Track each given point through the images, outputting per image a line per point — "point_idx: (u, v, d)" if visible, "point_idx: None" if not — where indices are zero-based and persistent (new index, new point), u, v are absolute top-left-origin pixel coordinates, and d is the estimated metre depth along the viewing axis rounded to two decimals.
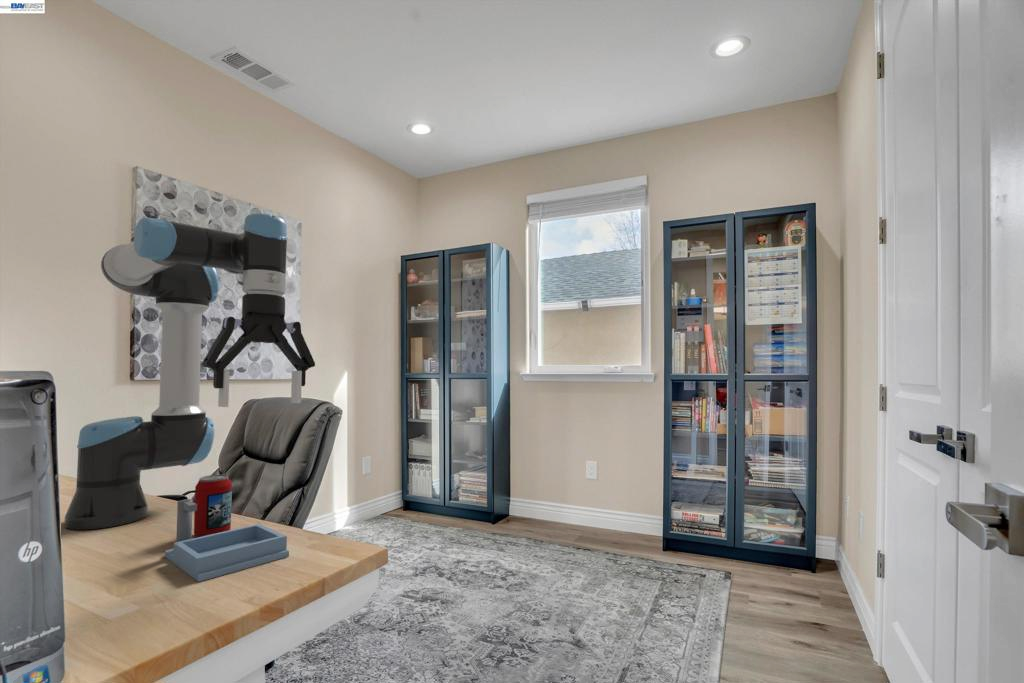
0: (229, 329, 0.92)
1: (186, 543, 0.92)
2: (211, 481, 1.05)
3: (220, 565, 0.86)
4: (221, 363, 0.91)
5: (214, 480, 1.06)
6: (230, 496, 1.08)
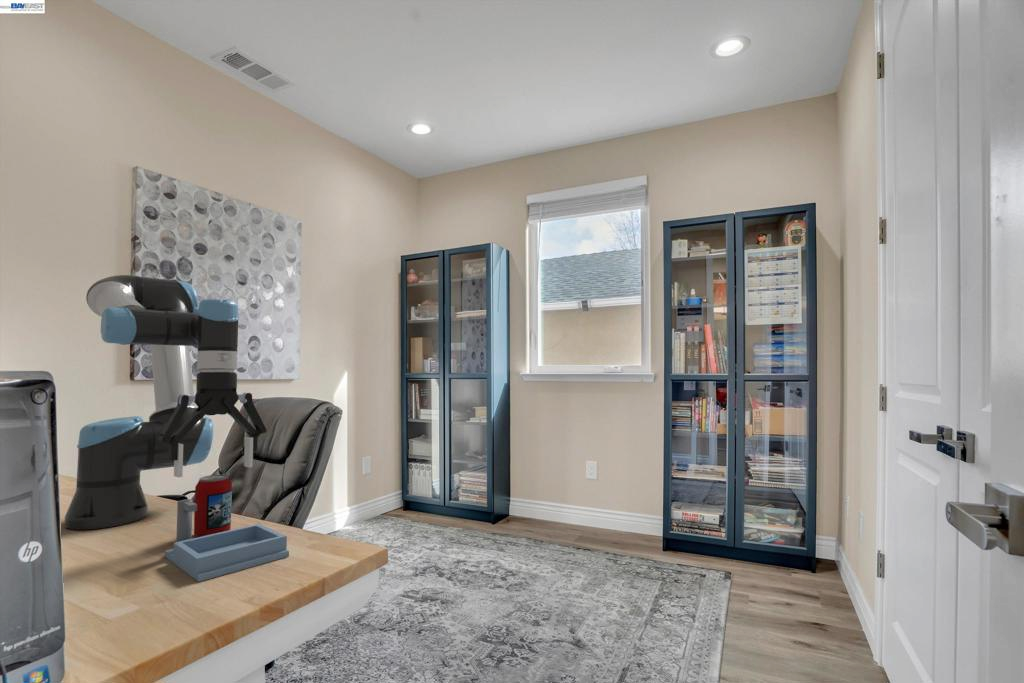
0: (183, 406, 1.03)
1: (186, 543, 0.92)
2: (211, 481, 1.05)
3: (220, 565, 0.86)
4: (175, 438, 1.02)
5: (214, 480, 1.06)
6: (230, 496, 1.08)
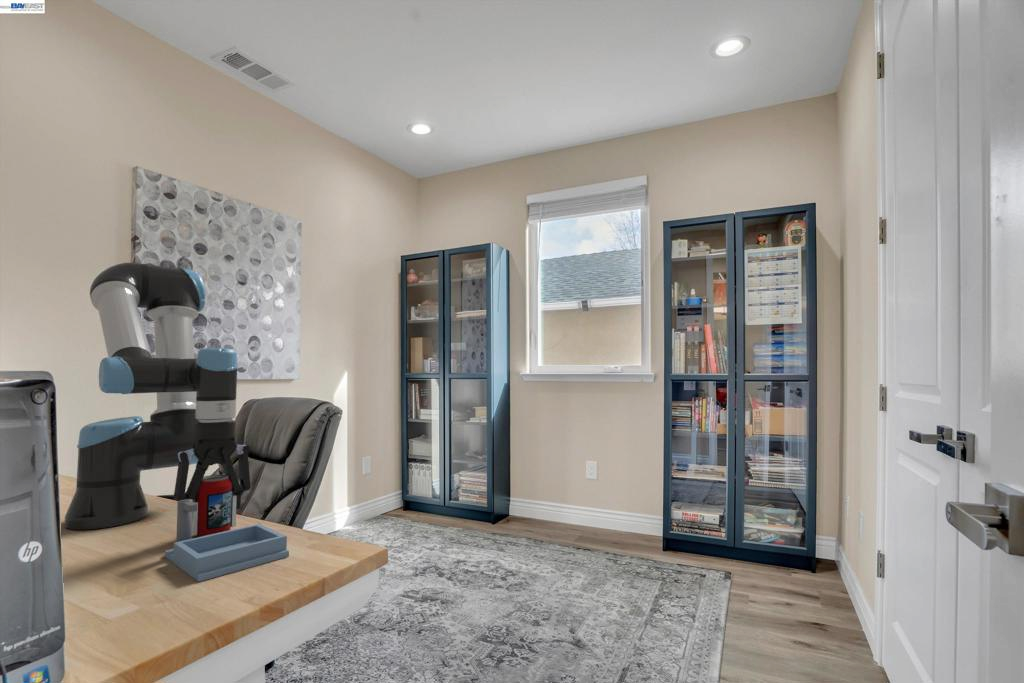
0: (185, 464, 1.03)
1: (186, 543, 0.92)
2: (211, 481, 1.05)
3: (220, 565, 0.86)
4: (189, 497, 1.03)
5: (214, 480, 1.06)
6: (230, 496, 1.08)
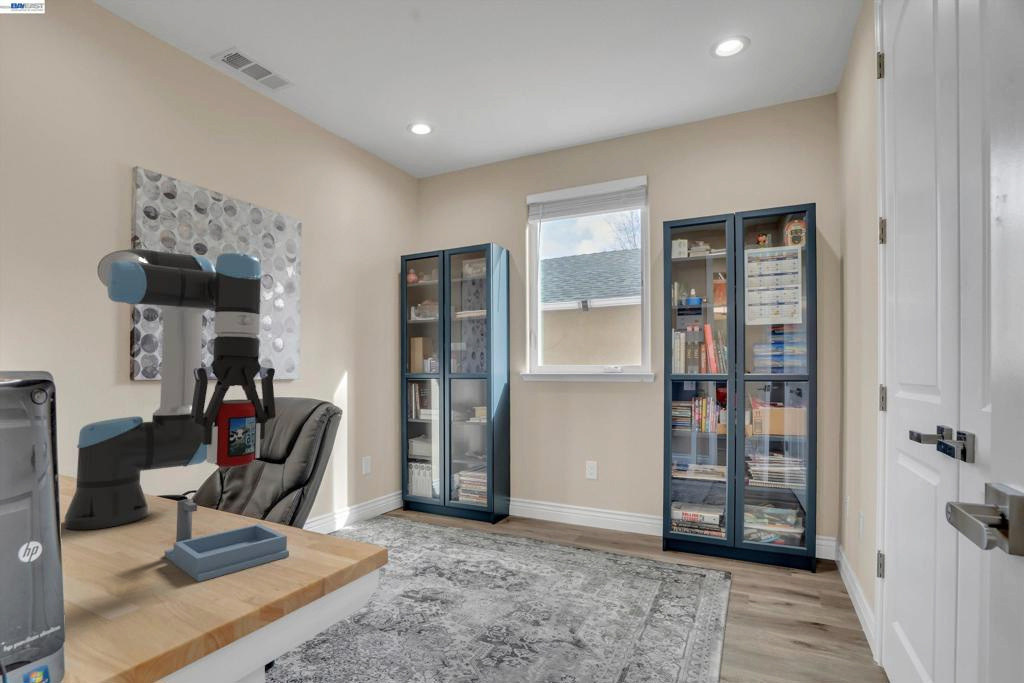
0: (203, 381, 0.90)
1: (186, 543, 0.92)
2: (233, 403, 0.92)
3: (220, 565, 0.86)
4: (208, 419, 0.90)
5: (236, 402, 0.93)
6: (254, 422, 0.95)
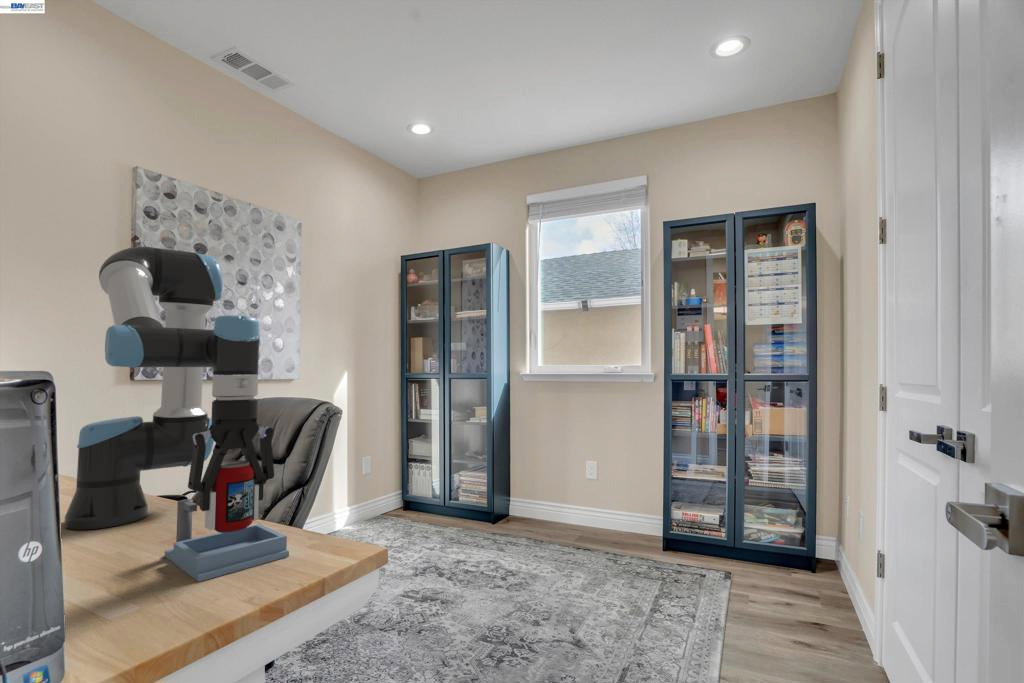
0: (201, 447, 0.89)
1: (186, 543, 0.92)
2: (231, 467, 0.92)
3: (220, 565, 0.86)
4: (206, 486, 0.90)
5: (234, 466, 0.92)
6: (252, 485, 0.95)
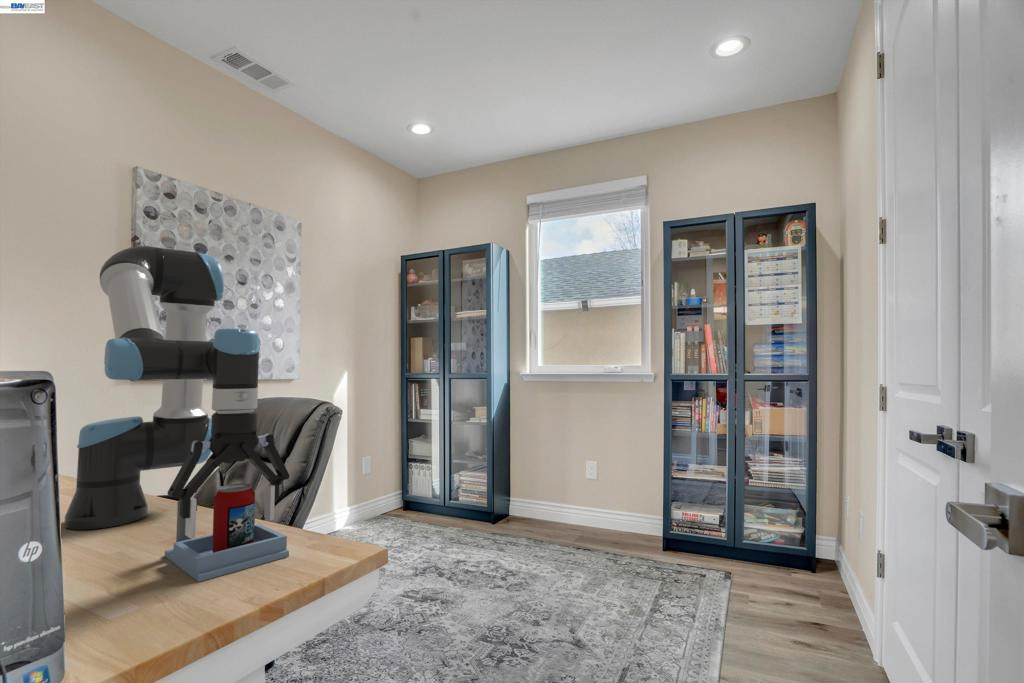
0: (196, 455, 0.89)
1: (186, 543, 0.92)
2: (232, 492, 0.92)
3: (220, 565, 0.86)
4: (187, 492, 0.87)
5: (235, 490, 0.92)
6: (253, 508, 0.95)
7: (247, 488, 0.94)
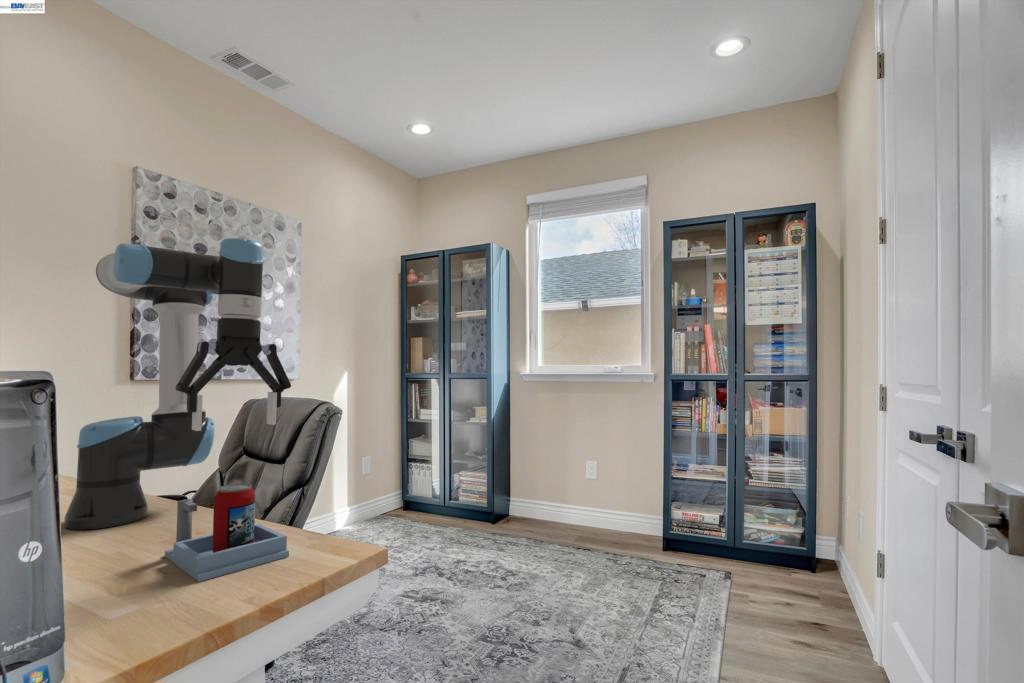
0: (203, 354, 0.94)
1: (186, 543, 0.92)
2: (232, 491, 0.92)
3: (220, 565, 0.86)
4: (194, 387, 0.93)
5: (236, 490, 0.92)
6: (253, 508, 0.95)
7: (247, 488, 0.94)
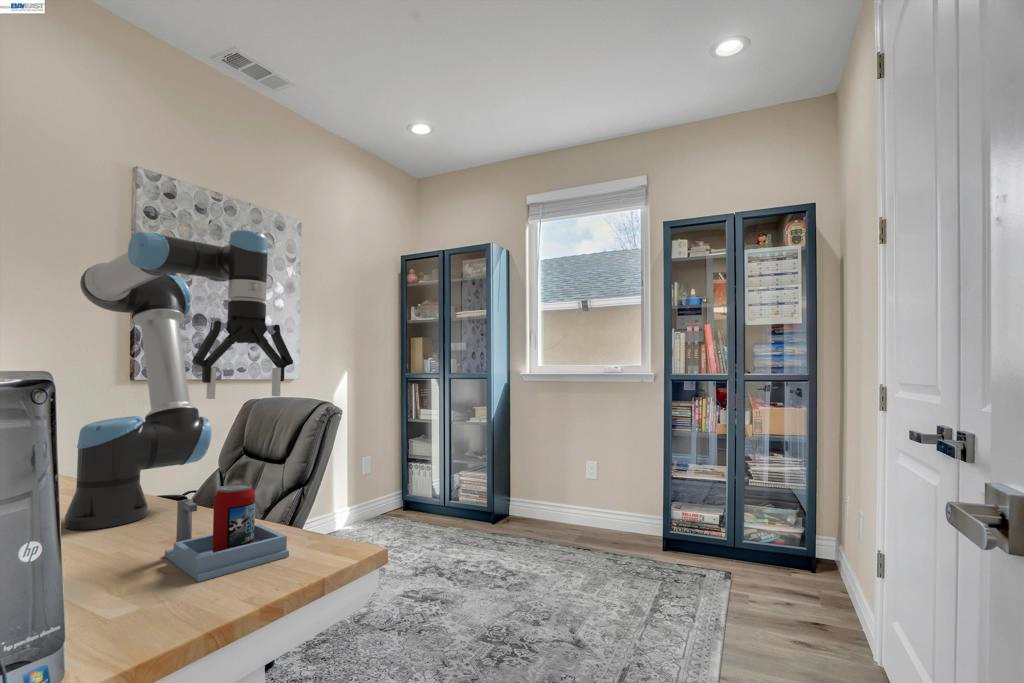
0: (216, 331, 1.06)
1: (186, 543, 0.92)
2: (232, 491, 0.92)
3: (220, 565, 0.86)
4: (209, 361, 1.05)
5: (236, 490, 0.92)
6: (253, 508, 0.95)
7: (247, 488, 0.94)
